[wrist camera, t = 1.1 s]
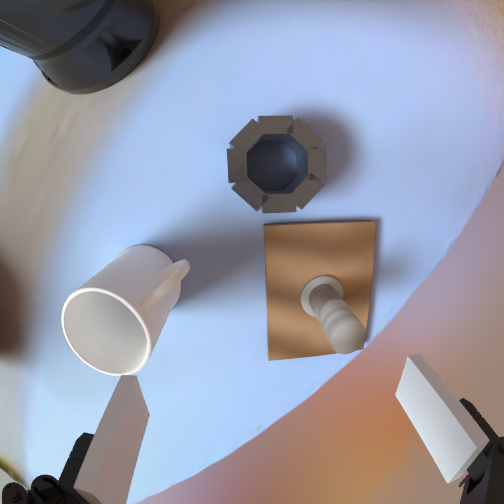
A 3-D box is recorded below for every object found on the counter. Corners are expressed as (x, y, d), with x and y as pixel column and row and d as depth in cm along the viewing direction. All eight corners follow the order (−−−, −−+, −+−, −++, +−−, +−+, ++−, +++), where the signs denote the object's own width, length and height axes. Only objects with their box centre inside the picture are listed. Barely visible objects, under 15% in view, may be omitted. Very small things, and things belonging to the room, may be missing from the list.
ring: (227, 126, 28) (225, 117, 23) (309, 125, 28) (323, 116, 23) (231, 208, 30) (230, 215, 25) (312, 204, 30) (326, 210, 25)
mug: (182, 216, 30) (148, 243, 18) (221, 285, 32) (212, 346, 20) (98, 265, 31) (42, 309, 19) (136, 326, 33) (100, 388, 21)
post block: (263, 224, 30) (276, 248, 20) (370, 220, 31) (421, 240, 21) (267, 355, 34) (277, 413, 25) (359, 344, 35) (392, 393, 25)
